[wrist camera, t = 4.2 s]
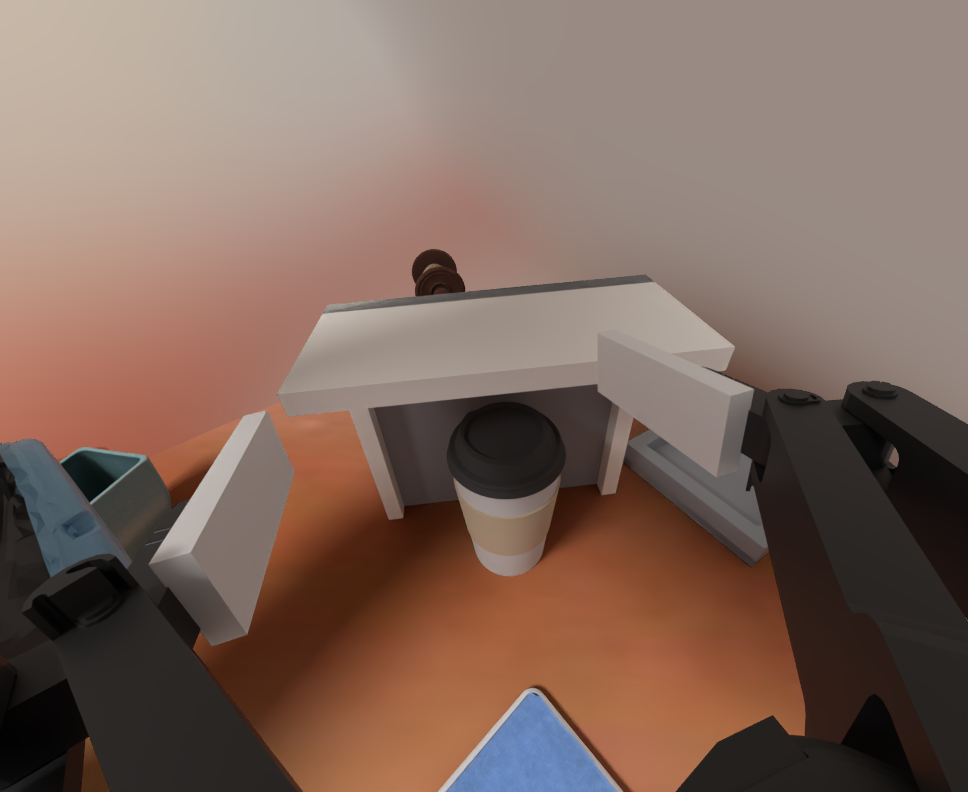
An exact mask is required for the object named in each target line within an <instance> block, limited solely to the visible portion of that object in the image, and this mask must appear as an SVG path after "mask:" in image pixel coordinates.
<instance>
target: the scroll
mask: <svg viewBox="0 0 968 792" xmlns="http://www.w3.org/2000/svg"><path fill="white" fill-rule="evenodd" d="M412 276H413V279H414V282H415V283H416V287H415V295H416V297H417V296H427V295H438V294H448V293H459V292H465V285H464V282H463V280H462V278H461V277H460V275H459V274H458V273H457V269H456V265H455V262H454V260H453V259H452V257H451V256H450V255H449V254H447V253H446V252H444V251H441V250H438V249H431V250H427V251H424V252H422V253H421V254H420V255H419V256H418V257H417V258H416V259H415V261H414V263H413V267H412Z"/></svg>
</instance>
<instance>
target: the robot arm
mask: <svg viewBox="0 0 968 792" xmlns="http://www.w3.org/2000/svg"><path fill="white" fill-rule="evenodd" d="M598 392H599V393H601V394H602V395H603V396H605V397H606V398H608V399H609V400H610V401H612V402H613V403H614V404H616V405H617V406H619V407H620V408H621V409H623V410H624V411H625V412H627V413H628V414H630V415H631V416H632V417H634V418H635V419H636V420H638V421H639V422H641V423H642V424H643V425H645V426H646V427H647V428H649V429H650V430H652V431H653V432H654V433H656V434H657V435H659V436H660V437H661V438H663V439H664V440H665V441H667V442H668V443H670V444H671V445H672V446H674V447H675V448H676V449H678V450H679V451H681V452H682V453H683V454H685V455H686V456H687V457H689V458H690V459H692V460H693V461H694V462H696V463H697V464H698V465H700V466H701V467H703V468H704V469H705V470H707V471H708V472H709V473H711V474H712V475H714V476H715V477H716V478H717V477H720V476H723V475H726V474H729V473H732V472H735V471H738V467H739V462H740V457H741V453H742V454H744V455H745V456H747V457H749V458H750V459H752V463H751V467H750V472H749V476H748V481H747V485H746V491H749V492H750V489H751V487H752V486H754V490H755V494H756V498H757V503H758V507H759V511H760V515H761V520H762V524H763V528H764V532H765V536H766V541H767V545H768V549H769V553H770V557H771V562H772V566H773V570H774V574H775V578H776V583H777V587H778V591H779V595H780V600H781V604H782V608H783V612H784V616H785V621H786V625H787V629H788V633H789V637H790V642H791V646H792V650H793V654H794V658H795V663H796V667H797V671H798V675H799V680H800V684H801V688H802V692H803V696H804V702H805V711H806V719H805V736H796V735H789V734H788V733H787V732H786V731H785V729H784V728H783V727H782V726H781V725H780V723H779V722H778V721H777V720H776V718H775V717H774V716H773V715H772V716H770V717H768V718H766V719H764V720H762V721H760V722H758V723H756V724H754V725H752V726H750V727H748V728H746V729H744V730H742V731H740V732H737V733H735V734H733V735H731V736H729V737H727V738H725V739H723V740H721V741H719V742H717V743H716V745H715V746H714V747H713V748H712V749H711V751H710V752H709V753H708V754H707V755H706V756H705V758H704V759H703V760H702V761H701V762H700V764H699V765H698V766H697V767H696V768H695V769H694V771H693V772H692V773H691V774H690V775H689V777H688V778H687V779H686V780H685V781H684V782H683V784H682V785H681V786H680V787H679V788H678V790H677V791H676V792H968V621H967V620H968V424H966V423H965V422H963V421H961V420H959V419H958V418H956V417H954V416H952V415H950V414H949V413H947V412H945V411H944V410H942V409H940V408H938V407H937V406H935V405H933V404H931V403H930V402H928V401H926V400H924V399H923V398H921V397H919V396H917V395H916V394H914V393H912V392H910V391H908V390H906V389H904V388H901V387H898V386H895V385H891V384H890V383H886V382H880V381H871V382H864V381H862V382H855V383H852V384H849V385H848V386H847V389H846V393H845V396H844V399H842V400H830V401H825V400H824V399H822V398H821V397H820V396H818V395H816V394H813V393H810V392H806V391H802V390H796V389H777V390H772V391H770V392H769V393H767V392H765V391H763V390H760V389H758V388H756V387H753V386H750V385H748V384H746V383H744V382H741V381H739V380H737V379H734V380H733V378H732V377H729V376H727V375H722V373H720V372H718V371H715V370H713V369H711V368H707V367H702V366H699V365H696V364H694V363H692V362H689V361H687V360H685V359H682V358H680V357H678V356H675V355H673V354H671V353H668V352H666V351H664V350H661V349H659V348H657V347H654V346H652V345H650V344H647V343H645V342H643V341H640V340H638V339H635V338H633V337H631V336H628V335H626V334H624V333H621V332H619V331H617V330H614V329H613V330H608V331H604V332H600V333H598ZM894 447H895V448H896V450H897V452H898V454H899V462H898V466H897V467H895V466H894V465H892V463H890V462H889V459H890V456H891V454H892V452H893V449H894ZM294 473H295V471H294V469H293V467H292V464H291V462H290V460H289V458H288V456H287V453H286V451H285V449H284V447H283V445H282V442H281V440H280V438H279V436H278V434H277V431H276V429H275V427H274V425H273V423H272V420H271V418H270V416H269V414H268V412H267V410H266V411H262V412H258V413H253V414H249V415H245V416H243V418H242V420H241V421H240V423H239V424H238V426H237V427H236V429H235V430H234V432H233V434H232V435H231V437H230V438H229V440H228V441H227V443H226V444H225V446H224V448H223V449H222V451H221V452H220V454H219V455H218V457H217V458H216V460H215V462H214V463H213V465H212V466H211V468H210V469H209V471H208V472H207V474H206V476H205V477H204V479H203V480H202V482H201V483H200V485H199V486H198V488H197V489H196V491H195V493H194V494H193V496H192V497H191V499H189V500H185V501H181V502H180V503H178V504H177V505H176V506H175V507H174V508H173V509H172V510H170V511H169V512H168V513H167V514H166V515H165V516H164V517H163V518H162V520H161V521H160V522H159V524H158V525H157V527H156V528H155V530H154V533H153V534H151V535H150V537H149V538H148V540H147V541H146V543H145V546H143V547H142V548H141V550H140V551H139V553H138V554H137V555H136V557H135V558H134V560H133V561H132V560H131V559H130V557H129V556H128V554H127V553H126V552H125V550H124V549H123V547H122V546H121V545H120V543H119V542H118V540H117V539H116V538H115V536H114V535H113V534H112V532H111V531H110V529H109V528H108V527H107V525H106V524H105V523H104V521H103V520H102V519H101V517H100V516H99V515H98V513H97V512H96V511H95V509H94V508H93V507H92V505H91V504H90V503H89V501H88V500H87V499H86V497H85V496H84V494H83V493H82V492H81V490H80V489H79V488H78V486H77V485H76V484H75V482H74V481H73V480H72V478H71V477H70V476H69V474H68V473H67V472H66V471H65V469H64V468H63V467H62V465H61V464H60V463H59V461H58V460H57V459H56V458H55V457H54V455H53V454H52V453H51V452H50V451H49V450H48V449H47V447H46V446H45V445H44V443H43V442H41V441H39V440H36V439H23V440H20V441H16V442H13V443H9V442H8V443H4V444H3V445H2V443H0V792H81V785H82V773H83V760H84V748H85V739H86V738H88V737H90V740H91V742H92V745H93V748H94V750H95V753H96V755H97V758H98V761H99V763H100V766H101V768H102V771H103V774H104V776H105V779H106V781H107V784H108V787H109V789H110V792H303V791H302V790H301V789H300V787H299V786H298V785H297V783H296V782H295V781H294V779H293V778H292V777H291V776H290V774H289V773H288V772H287V770H286V769H285V768H284V767H283V765H282V764H281V763H280V761H279V760H278V759H277V757H276V756H275V755H274V754H273V752H272V751H271V750H270V748H269V747H268V746H267V745H266V743H265V742H264V741H263V739H262V738H261V737H260V735H259V734H258V733H257V732H256V730H255V729H254V728H253V726H252V725H251V724H250V722H249V721H248V720H247V719H246V717H245V716H244V715H243V713H242V712H241V711H240V710H239V708H238V707H237V706H236V704H235V703H234V702H233V700H232V699H231V698H230V697H229V695H228V694H227V693H226V691H225V690H224V689H223V688H222V686H221V685H220V684H219V682H218V681H217V680H216V678H215V677H214V676H213V675H212V673H211V672H210V671H209V669H208V668H207V667H206V666H205V664H204V663H203V662H202V660H201V659H200V658H199V656H198V655H197V654H196V653H195V652H194V650H193V647H194V644H195V642H196V639H197V637H198V635H199V632H201V633H202V635H203V636H204V637H205V638H206V640H207V641H208V642H209V644H210V645H211V646H215V645H218V644H221V643H224V642H227V641H230V640H233V639H236V638H239V637H242V636H245V635H247V634H248V631H249V627H250V624H251V620H252V617H253V614H254V610H255V607H256V603H257V600H258V596H259V593H260V590H261V586H262V583H263V579H264V576H265V572H266V569H267V566H268V562H269V559H270V555H271V552H272V548H273V545H274V542H275V538H276V535H277V531H278V528H279V525H280V521H281V518H282V514H283V511H284V507H285V504H286V501H287V497H288V494H289V490H290V487H291V483H292V480H293V477H294ZM966 618H967V619H966Z"/></svg>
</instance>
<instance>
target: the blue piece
mask: <svg viewBox="0 0 968 792" xmlns="http://www.w3.org/2000/svg"><path fill="white" fill-rule="evenodd" d="M438 792H623V791H622V789H621V788H620V787H619V786H618V784H617V783H616V782H615V781H614V780H613V778H612V777H611V776H610V775H609V773H608V772H607V771H606V770H605V768H604V767H603V766H602V765H601V764H600V762H599V761H598V760H597V759H596V758H595V756H594V755H593V754H592V753H591V751H590V750H589V749H588V748H587V747H586V745H585V744H584V743H583V742H582V741H581V739H580V738H579V737H578V736H577V734H576V733H575V732H574V731H573V729H572V728H571V727H570V726H569V725H568V723H567V722H566V721H565V720H564V718H563V717H562V716H561V715H560V713H559V712H558V711H557V710H556V709H555V707H554V706H553V705H552V704H551V703H550V701H549V700H548V699H547V698H546V696H545V695H544V694H543V693H542V692H541V691H540V690H538V689H536V688H528V689H526V690H525V691H524V692H523V693H522V694H521V695H520V696H519V697H518V699H517V700H516V701H515V702H514V703H513V704H512V705H511V707H510V708H509V709H508V710H507V711H506V712H505V714H504V715H503V716H502V717H501V718H500V719H499V721H498V722H497V723H496V724H495V725H494V726H493V727H492V729H491V730H490V731H489V732H488V733H487V734H486V736H485V737H484V738H483V739H482V740H481V741H480V743H479V744H478V745H477V746H476V747H475V748H474V750H473V751H472V752H471V753H470V754H469V756H468V757H467V758H466V759H465V760H464V761H463V763H462V764H461V765H460V766H459V767H458V768H457V770H456V771H455V772H454V773H453V774H452V775H451V777H450V778H449V779H448V780H447V781H446V782H445V784H444V785H443V786H442V787H441V788H440V789H439V791H438Z"/></svg>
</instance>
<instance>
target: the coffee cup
mask: <svg viewBox="0 0 968 792" xmlns="http://www.w3.org/2000/svg"><path fill="white" fill-rule="evenodd" d="M565 460H566V450H565V446H564V443H563V441H562V439H561V435H560V433H559V431H558V429H557V427H556V426H555V424H554V423H553V422H552V421H551V420H550V419H549V418H548V417H546V416H545V415H544V414H542V413H540V412H539V411H537V410H536V409H534V408H532V407H530V406H528V405H525V404H521V403H516V402H497V403H492V404H489V405H486V406H483V407H481V408H479V409H477V410H474V411H470V412H469V413H467V414H466V415H465V417H464V418H463V420H462V421H461V422H460V423H459V424H458V426H457V427H456V428H455V430H454V431H453V433H452V435H451V438H450V441H449V446H448V449H447V464H448V467H449V470H450V472H451V474H452V475H453V477H454V485H455V489H456V492H457V495H458V499H459V502H460V505H461V508H462V512H463V515H464V518H465V522H466V525H467V528H468V531H469V533H470V535H471V538H472V541H473V545H474V548H475V552H476V555H477V557H478V559H479V561H480V562H481V563H482V565H483V566H484V567H485V568H487V569H488V570H489V571H491V572H493V573H495V574H498V575H502V576H517V575H521V574H523V573H525V572H527V571H529V570H530V569H532V568H533V567H534V566H535V565H536V564H537V563H538V561H539V560H540V558H541V556H542V553H543V549H544V544H545V540H546V535H547V533H548V531H549V528H550V524H551V519H552V515H553V511H554V507H555V503H556V498H557V494H558V490H559V486H560V480H561V472H562V470H563V468H564V465H565Z"/></svg>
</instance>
